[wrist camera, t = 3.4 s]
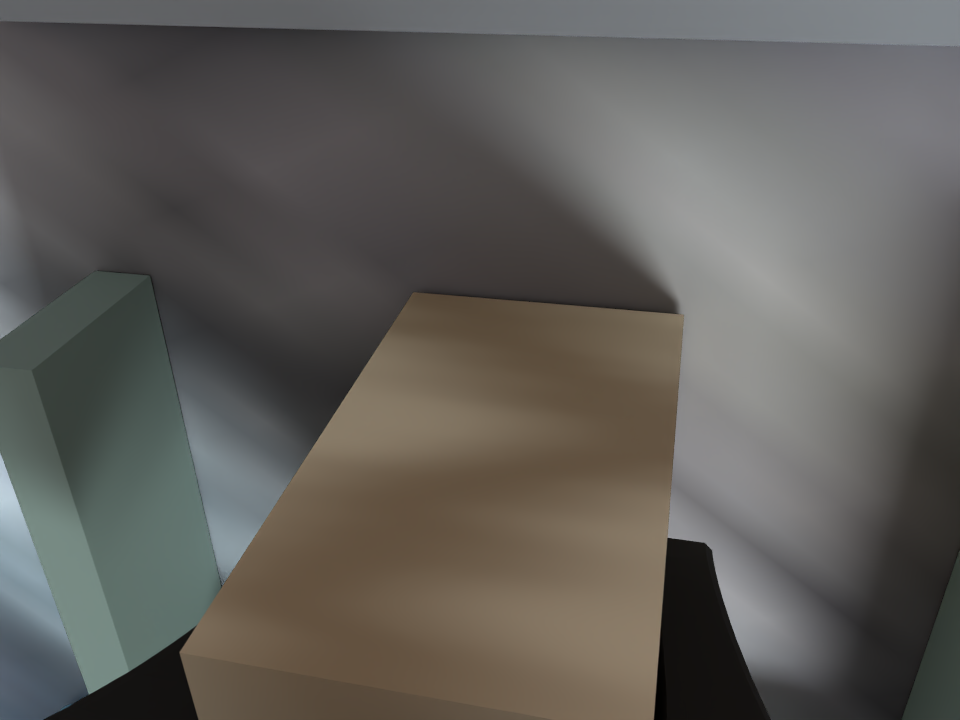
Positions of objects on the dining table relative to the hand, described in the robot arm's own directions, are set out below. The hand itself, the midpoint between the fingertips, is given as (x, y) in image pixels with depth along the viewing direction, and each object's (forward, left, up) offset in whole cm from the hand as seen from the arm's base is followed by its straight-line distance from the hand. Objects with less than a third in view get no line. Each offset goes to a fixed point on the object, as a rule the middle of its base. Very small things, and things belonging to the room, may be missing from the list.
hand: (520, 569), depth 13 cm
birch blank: (0, 0, -2) cm, 2 cm away
